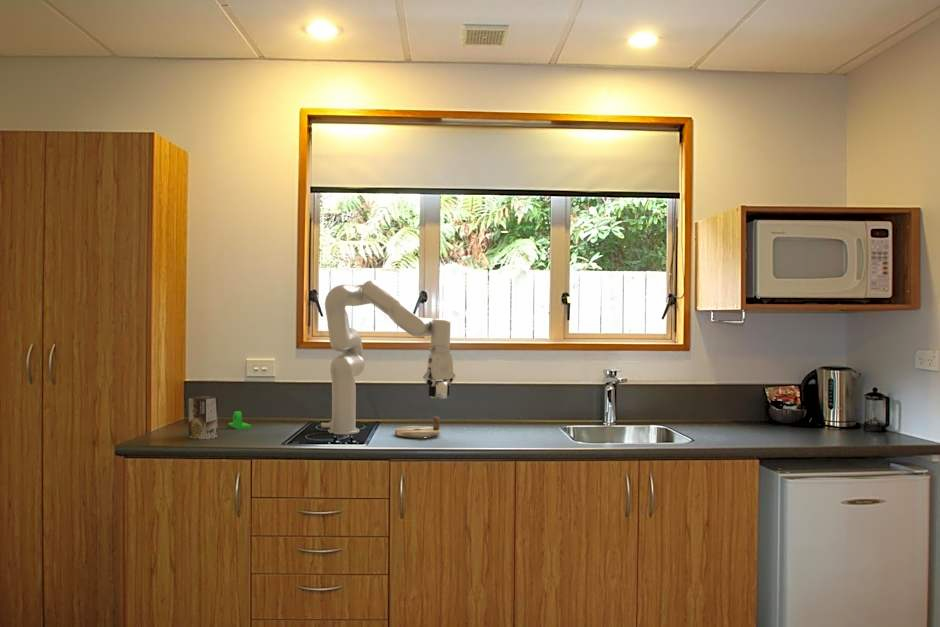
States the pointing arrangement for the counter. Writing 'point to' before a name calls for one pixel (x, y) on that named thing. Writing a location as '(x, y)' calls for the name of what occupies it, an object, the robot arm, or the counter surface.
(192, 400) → the coffee box
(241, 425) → the mechanical part
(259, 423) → the counter surface
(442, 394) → the silver rounded piece
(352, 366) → the robot arm
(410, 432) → the turntable
